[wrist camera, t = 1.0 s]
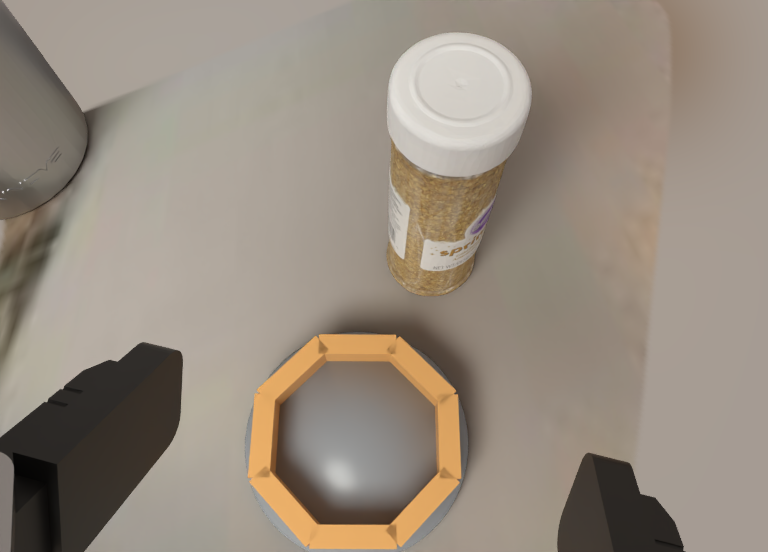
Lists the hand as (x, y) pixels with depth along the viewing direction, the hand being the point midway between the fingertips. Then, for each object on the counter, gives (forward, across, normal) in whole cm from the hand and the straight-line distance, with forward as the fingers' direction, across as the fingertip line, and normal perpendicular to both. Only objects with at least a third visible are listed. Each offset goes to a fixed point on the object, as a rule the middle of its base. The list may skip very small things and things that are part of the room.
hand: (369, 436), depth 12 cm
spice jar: (+20, 0, +4) cm, 20 cm away
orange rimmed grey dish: (+13, +2, +10) cm, 17 cm away
